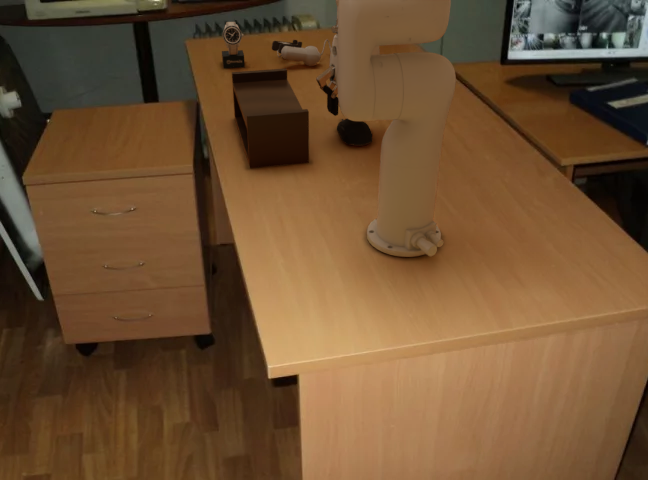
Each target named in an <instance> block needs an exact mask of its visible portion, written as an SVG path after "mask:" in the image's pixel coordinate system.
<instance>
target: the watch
mask: <svg viewBox="0 0 648 480" xmlns="http://www.w3.org/2000/svg"><path fill="white" fill-rule="evenodd" d="M243 38H244V33H242V30H241V29H240V28H239V25H238V24H236V21H226V22H225V25H224V29H223V31H222V39H223V41H224V44H225V46H226V48H227V50H222V51H221V58H222V59H221V60H222V66H223V69H239V68H240V69H241V68H246V65H245V54H244V50H243V49H239V48H240V46H241V41H242V39H243Z"/></svg>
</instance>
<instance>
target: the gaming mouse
mask: <svg viewBox="0 0 648 480" xmlns="http://www.w3.org/2000/svg"><path fill="white" fill-rule="evenodd" d="M336 131H337V133H338V135H339V136H340V138H341V140H342V142H343V143H345V144H346V145H350V146H357V147H361V146H367V145H368V144H371V143H372V142H373V132H372V130H371V128H370V126H369V124H368V123H367V122H366V121H352V120H349V119H347V118H345V119H344V118H341V121H340V122H338V123H337V126H336Z"/></svg>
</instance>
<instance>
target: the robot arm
mask: <svg viewBox="0 0 648 480" xmlns="http://www.w3.org/2000/svg"><path fill="white" fill-rule="evenodd" d="M451 4H452V0H335V5H336V20H335V25H332V26H331V33H333V34H334V35H333V39H332V42H331V52H330V55H329V64H328V65H329V67H328V68H327V69H325V70H324V71H323V72H322V73H320V74H319V75H318V76H317V77H316V82H317V85H318V86H319V89H320V90H321V91H322V92H324V93H325V94H326V109H327V111H328V112H329V113H330V114H331V115H333V117H334V116H335V117H337V116H338V115H339V109H340V112H341V114H342V115H343V116H344V118H345V119H349V120H352V121H363V122H377V121H379V122H380V121H391V122H390V123H389V125H388V126H387V129H386V130H385V132H384V134H383V136H382V140H381V145H380V160H379V173H378V175H379V176H378V191H377V209H376V210H377V211H376V218H374V219H373V220H372V221H371V222H370V223H369V224H368V225H367V228H366V238H367V241H368V243H369V244H370V245H371V246H372V247H374V248H375V249H376V250H378V251H380V252H382V253H384V254H387V255H391V256H395V257H402V258H405V257H407V258H408V257H409V258H413V257H414V258H415V257H419V256H424V255H426V256H428V257H433V256H435V255H436V254H437V252H438V248H441V247H442V246H443V245H444V240H443V239H442V232H441V230H440V229H441V228H439V226H438V225H437V224H438V223H436V222H435V212H436V211H435V210H436V202H437V195H438V185H439V175H440V166H441V157H442V150H443V143H444V136H445V135H444V134H445V129H446V124H447V120H448V116H449V113H450V110H451V106H452V103H453V100H454V97H455V91H456V85H457V76H456V71H455V68H454V65H453V63H452V62H451V61H450V60H449V59H448V58H447V57H446V56H444V55H442V54H439V53H435V52H429V51H411V52H410V51H409V52H393V53H382V54H381V53H380V52H381V51H380V47H383V46H384V47H385V46H405V45H419V44H429V43H432V42H436V41H438V40H440V39H441V38H443V36H444V35H445V34H446V32H447V29H448V25H449V20H450V14H451ZM327 80H329V83H328V85H327Z"/></svg>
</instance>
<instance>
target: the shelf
mask: <svg viewBox="0 0 648 480" xmlns="http://www.w3.org/2000/svg"><path fill="white" fill-rule="evenodd" d="M231 82H232V83H231V85H232V97H233V98H232V99H233V114H234V121H235V125H236V128H237V130H238V135H239V138H240V141H241V145H242V147H243V151H244V154H245V157H246V161H247V164H248V167H249V169H257V168H267V167H278V166H289V165H300V164H301V165H302V164H309V163H310V141H309V140H310V121H309V120H310V118H309V117H310V113H309V112H310V111H309V109H307V108H302V105H301V103H300V101H299V99H298V97H297V96H296V93H295V92H294V89H293V88H292V86H291V83H290V82H289V79H288V69H287V68H286V67H285V68H274V69H273V68H272V69H258V70H257V69H256V70H244V71H243V70H242V71H231Z"/></svg>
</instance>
